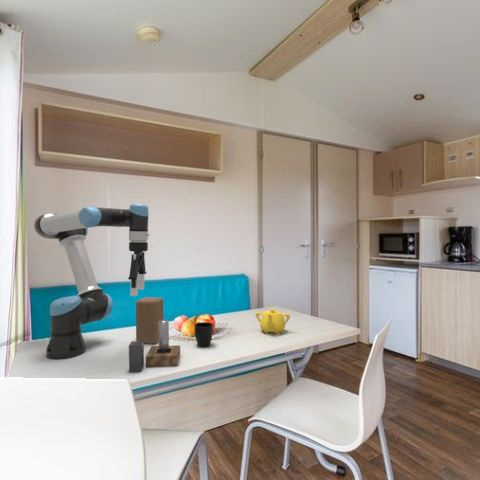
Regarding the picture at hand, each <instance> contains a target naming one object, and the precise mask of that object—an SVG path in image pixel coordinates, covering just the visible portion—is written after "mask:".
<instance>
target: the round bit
mask: <svg viewBox="0 0 480 480" xmlns="http://www.w3.org/2000/svg"><path fill="white" fill-rule="evenodd" d="M169 323H170V322H169V320H168V319H164V320H159V321H158V330H159V342H158V346H159V353H169V346H170V341H169V340H170V337H169V336H170V333H169V332H170V328H169V327H170V326H169V325H170V324H169Z"/></svg>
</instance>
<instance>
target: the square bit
mask: <svg viewBox="0 0 480 480" xmlns="http://www.w3.org/2000/svg"><path fill="white" fill-rule="evenodd" d="M144 345H145V343H144V341H136V340H134V341H131V342H130V343H129V345H128V373H142V372H143V370H144V368H145V352H144V351H145V346H144Z"/></svg>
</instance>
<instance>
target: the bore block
mask: <svg viewBox="0 0 480 480" xmlns="http://www.w3.org/2000/svg"><path fill="white" fill-rule="evenodd" d="M145 355H146V356H145V368H156V367H157V368H158V367H159V368H160V367H178V366H179V361H180V357H181V345H180V344H177V345H169V353H159V345H153V346H151V345H150V348H149V350H148V352H147V353H146V354H145Z"/></svg>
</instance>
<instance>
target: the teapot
mask: <svg viewBox="0 0 480 480" xmlns="http://www.w3.org/2000/svg"><path fill="white" fill-rule="evenodd" d="M260 315H261V318H260ZM284 316H285V317H286V318H285V317H284ZM255 318H256V319H257V321H258V323H259V327H260V329H261V330H262V332H263V331H264V332H263V334H264V333H265V335H267V334H269V333H274V335H277V336H278V335H281V333H280V332H283V331H284V329H285V328H286V324H287V323H288V322H289V320H290V318H291V314H290V313H282V312H281V311H279V310H276V308H270V309H269V310H266V311H263V312H259V311H257V312H255Z"/></svg>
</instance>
